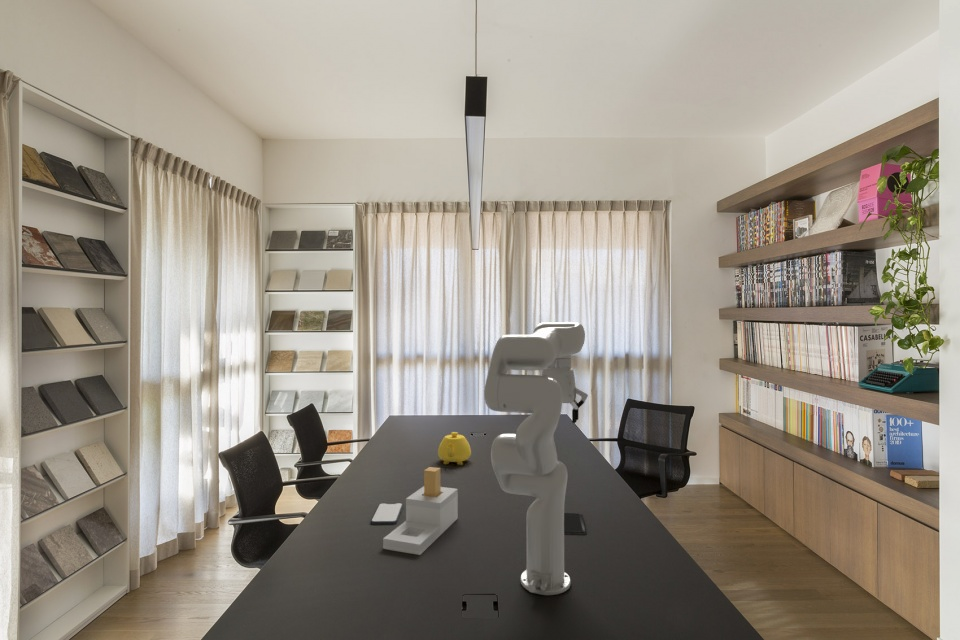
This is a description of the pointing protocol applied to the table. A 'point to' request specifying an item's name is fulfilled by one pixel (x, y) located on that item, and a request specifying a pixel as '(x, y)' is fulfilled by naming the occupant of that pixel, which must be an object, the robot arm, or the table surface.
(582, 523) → the phone
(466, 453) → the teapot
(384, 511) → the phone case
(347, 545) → the table surface
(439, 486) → the plug
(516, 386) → the robot arm
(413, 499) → the white stepped socket block
